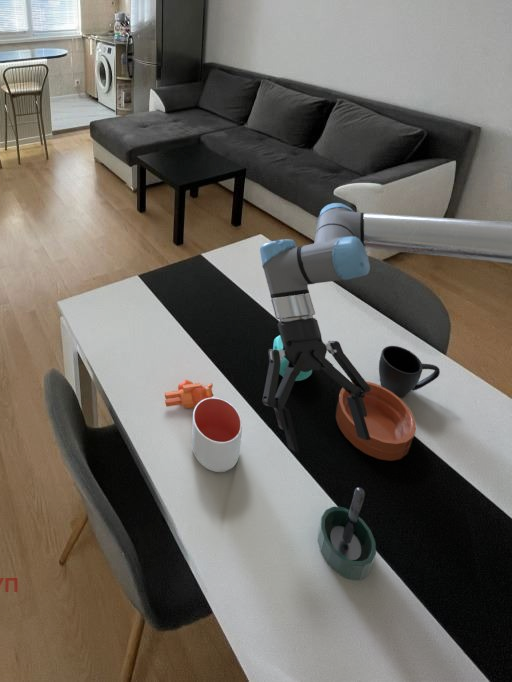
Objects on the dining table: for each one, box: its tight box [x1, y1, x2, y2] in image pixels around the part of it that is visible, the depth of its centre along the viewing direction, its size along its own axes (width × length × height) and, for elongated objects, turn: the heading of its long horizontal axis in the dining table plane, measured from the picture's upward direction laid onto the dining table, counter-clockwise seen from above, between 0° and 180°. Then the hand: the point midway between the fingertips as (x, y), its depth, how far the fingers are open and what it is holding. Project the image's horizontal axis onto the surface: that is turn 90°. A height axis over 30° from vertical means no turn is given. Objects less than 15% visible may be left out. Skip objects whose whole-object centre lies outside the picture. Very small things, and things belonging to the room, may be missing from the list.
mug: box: [378, 345, 441, 399], centre depth 102 cm, size 8×12×10 cm
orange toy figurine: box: [164, 379, 214, 409], centre depth 103 cm, size 5×8×12 cm
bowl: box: [335, 381, 417, 462], centre depth 94 cm, size 14×14×6 cm
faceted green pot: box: [317, 506, 377, 581], centre depth 75 cm, size 8×8×5 cm
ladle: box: [329, 486, 366, 561], centre depth 73 cm, size 5×5×17 cm
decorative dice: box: [272, 334, 313, 382], centre depth 109 cm, size 8×8×8 cm
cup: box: [191, 397, 243, 473], centre depth 91 cm, size 10×10×10 cm
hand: (329, 444), depth 77 cm, fingers open, 13 cm apart
